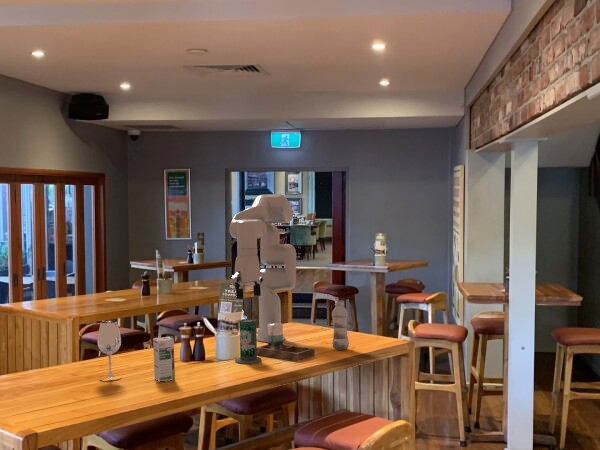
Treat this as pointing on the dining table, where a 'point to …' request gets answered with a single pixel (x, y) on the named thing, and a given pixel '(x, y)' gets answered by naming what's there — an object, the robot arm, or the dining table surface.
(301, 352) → the brown wooden tray
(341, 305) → the plastic bottle
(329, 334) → the dining table surface
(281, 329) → the can
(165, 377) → the syrup box
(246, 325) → the can
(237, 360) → the slate coaster
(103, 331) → the wineglass
